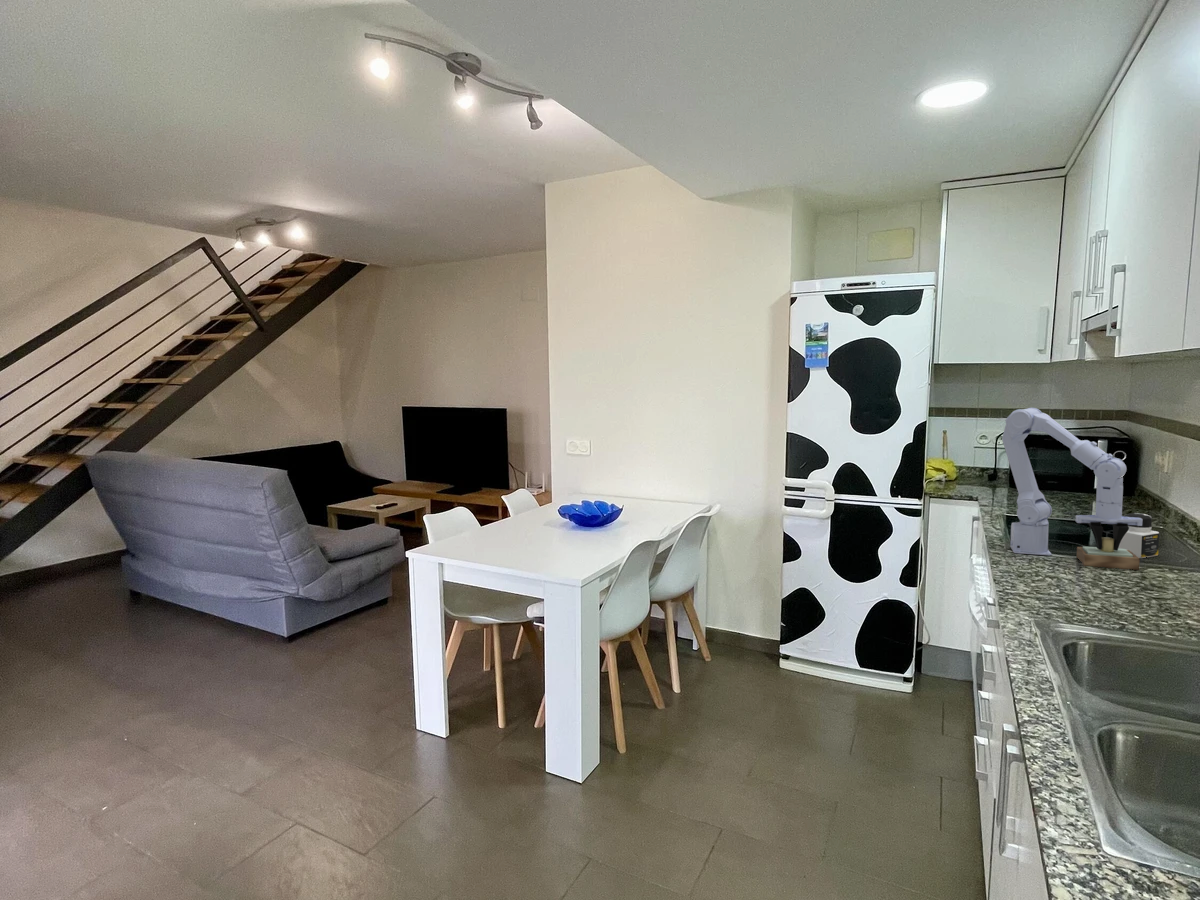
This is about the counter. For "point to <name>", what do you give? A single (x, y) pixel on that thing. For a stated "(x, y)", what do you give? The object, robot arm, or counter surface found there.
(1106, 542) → the lid
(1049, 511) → the robot arm
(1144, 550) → the medicine bottle
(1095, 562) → the box
